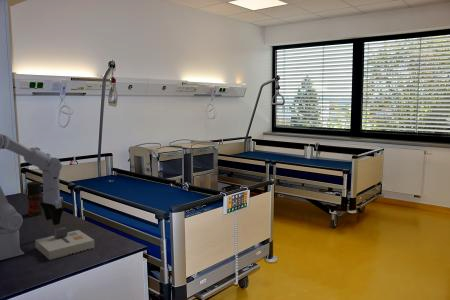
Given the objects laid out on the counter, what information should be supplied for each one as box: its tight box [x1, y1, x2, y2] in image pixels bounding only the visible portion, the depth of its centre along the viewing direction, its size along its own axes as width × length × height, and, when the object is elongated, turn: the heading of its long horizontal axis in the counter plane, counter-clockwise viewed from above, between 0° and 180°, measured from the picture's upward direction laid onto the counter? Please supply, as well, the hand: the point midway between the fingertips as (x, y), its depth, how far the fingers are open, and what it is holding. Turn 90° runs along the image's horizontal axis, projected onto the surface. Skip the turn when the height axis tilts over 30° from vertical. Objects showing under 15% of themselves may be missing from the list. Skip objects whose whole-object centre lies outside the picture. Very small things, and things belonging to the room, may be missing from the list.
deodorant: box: [26, 181, 43, 217], centre depth 176 cm, size 6×6×15 cm
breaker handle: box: [53, 226, 68, 239], centre depth 141 cm, size 4×2×3 cm, turn 134°
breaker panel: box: [35, 229, 95, 261], centre depth 138 cm, size 16×14×3 cm
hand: (52, 221), depth 146 cm, fingers open, 7 cm apart
